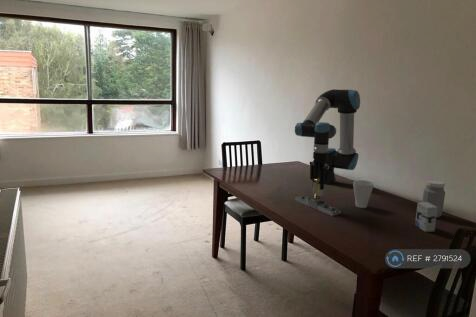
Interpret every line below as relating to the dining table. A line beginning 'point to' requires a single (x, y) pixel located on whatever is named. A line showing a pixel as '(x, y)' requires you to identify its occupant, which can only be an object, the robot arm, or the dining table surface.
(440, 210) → the jar
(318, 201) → the grey long bar piece
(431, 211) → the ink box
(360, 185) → the cup
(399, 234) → the dining table surface
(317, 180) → the pin
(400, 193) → the dining table surface
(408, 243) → the dining table surface
